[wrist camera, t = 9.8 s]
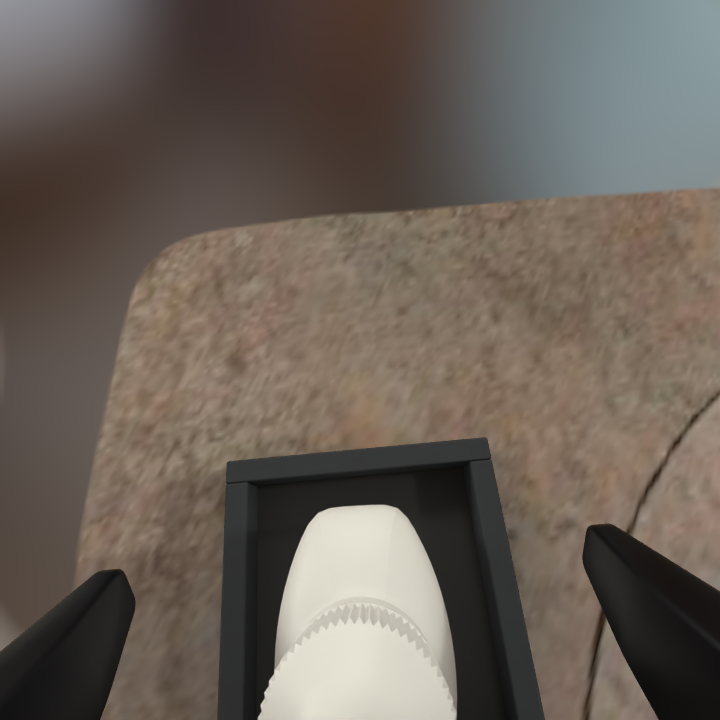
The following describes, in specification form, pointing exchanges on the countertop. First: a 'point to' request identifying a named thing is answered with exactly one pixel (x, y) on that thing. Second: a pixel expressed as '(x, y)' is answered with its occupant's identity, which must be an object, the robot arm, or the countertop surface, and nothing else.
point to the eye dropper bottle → (362, 625)
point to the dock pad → (437, 534)
